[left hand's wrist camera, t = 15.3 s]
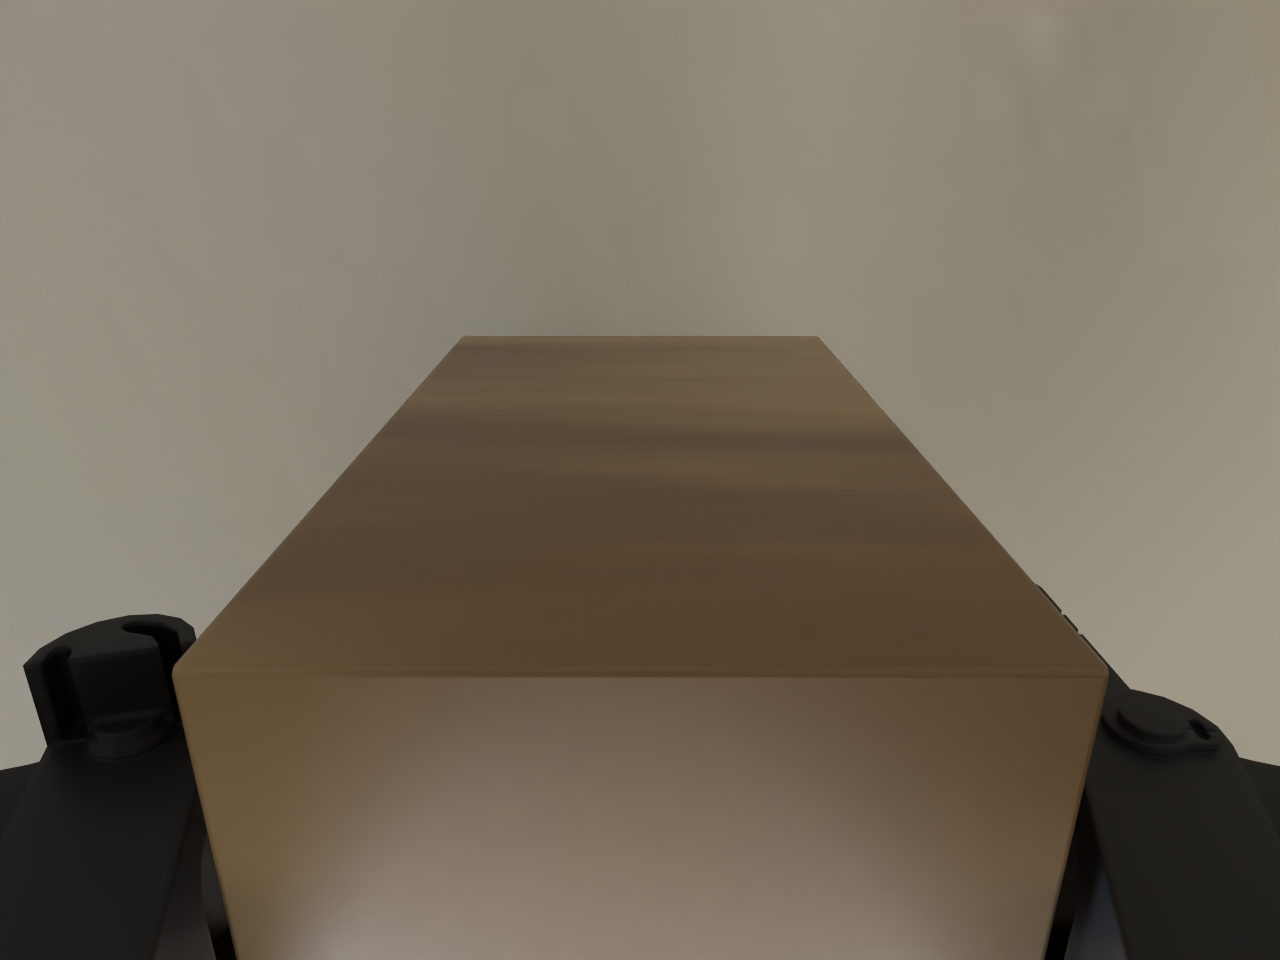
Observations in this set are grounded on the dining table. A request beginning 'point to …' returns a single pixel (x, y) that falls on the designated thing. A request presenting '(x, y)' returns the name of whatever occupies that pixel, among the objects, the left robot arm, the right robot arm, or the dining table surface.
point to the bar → (640, 680)
